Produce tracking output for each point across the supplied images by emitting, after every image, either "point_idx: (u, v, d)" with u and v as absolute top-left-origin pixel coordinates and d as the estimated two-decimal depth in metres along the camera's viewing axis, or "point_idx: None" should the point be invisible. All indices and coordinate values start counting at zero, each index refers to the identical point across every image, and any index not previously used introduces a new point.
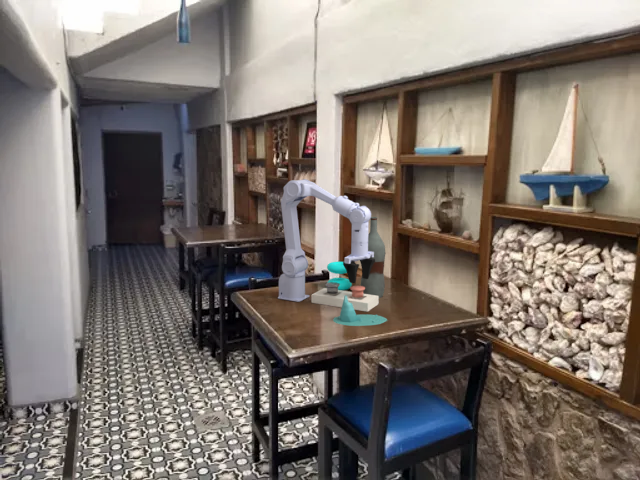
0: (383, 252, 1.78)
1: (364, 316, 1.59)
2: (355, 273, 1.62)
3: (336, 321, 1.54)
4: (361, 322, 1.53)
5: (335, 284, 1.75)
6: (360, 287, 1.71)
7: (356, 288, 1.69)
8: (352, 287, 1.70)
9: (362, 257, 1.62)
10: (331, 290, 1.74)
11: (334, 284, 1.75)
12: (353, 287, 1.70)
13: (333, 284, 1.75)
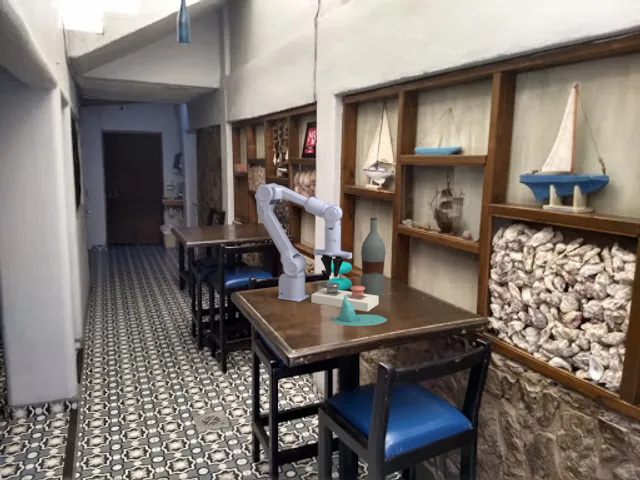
0: (383, 252, 1.78)
1: (364, 316, 1.59)
2: (325, 266, 1.74)
3: (336, 321, 1.54)
4: (361, 322, 1.53)
5: (335, 284, 1.75)
6: (360, 287, 1.71)
7: (356, 288, 1.69)
8: (352, 287, 1.70)
9: (324, 253, 1.72)
10: (331, 290, 1.74)
11: (334, 284, 1.75)
12: (353, 287, 1.70)
13: (333, 284, 1.75)
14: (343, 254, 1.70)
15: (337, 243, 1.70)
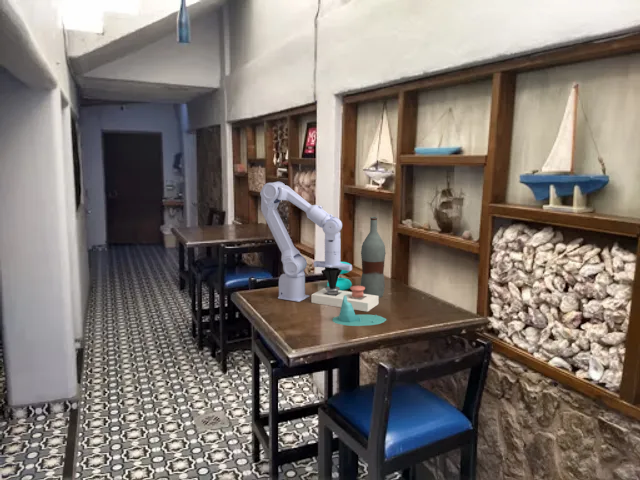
0: (383, 252, 1.78)
1: (363, 316, 1.59)
2: (328, 279, 1.74)
3: (335, 321, 1.54)
4: (360, 322, 1.53)
5: (335, 288, 1.75)
6: (360, 287, 1.71)
7: (356, 288, 1.69)
8: (352, 287, 1.70)
9: (324, 265, 1.73)
10: (331, 294, 1.74)
11: (334, 288, 1.75)
12: (353, 287, 1.70)
13: None
14: (343, 266, 1.70)
15: (337, 255, 1.71)
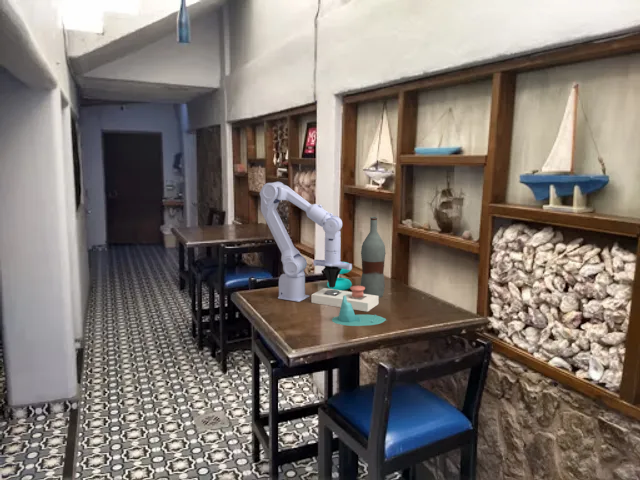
0: (383, 252, 1.78)
1: (363, 316, 1.59)
2: (328, 277, 1.74)
3: (335, 321, 1.54)
4: (360, 322, 1.53)
5: (335, 292, 1.75)
6: (360, 287, 1.71)
7: (356, 288, 1.69)
8: (352, 287, 1.70)
9: (324, 263, 1.72)
10: None
11: (334, 292, 1.75)
12: (353, 287, 1.70)
13: (333, 292, 1.75)
14: (343, 265, 1.70)
15: (337, 254, 1.71)
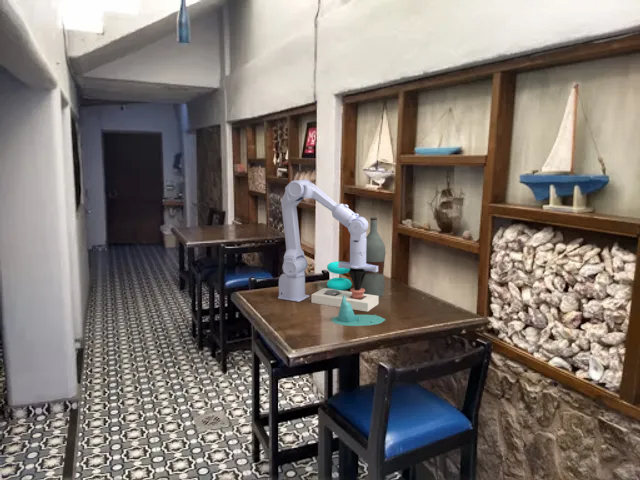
0: (383, 252, 1.78)
1: (362, 316, 1.59)
2: (353, 280, 1.69)
3: (334, 321, 1.54)
4: (359, 322, 1.53)
5: (335, 292, 1.75)
6: (360, 289, 1.71)
7: (356, 290, 1.69)
8: (352, 289, 1.71)
9: (350, 266, 1.68)
10: None
11: (334, 292, 1.75)
12: (353, 289, 1.71)
13: (333, 292, 1.75)
14: (369, 267, 1.66)
15: (363, 256, 1.66)
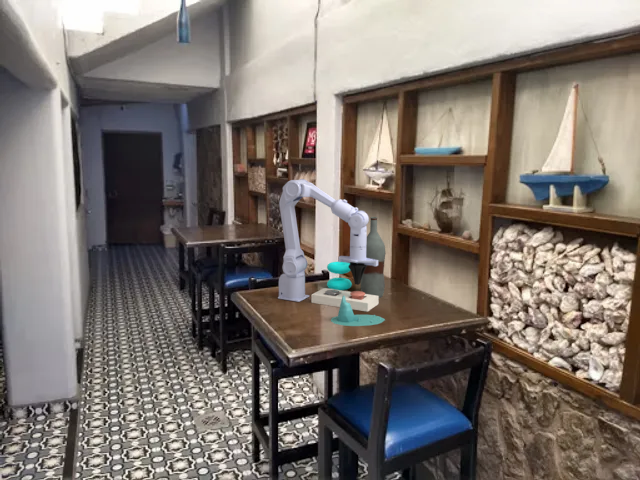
0: (383, 252, 1.78)
1: (362, 316, 1.59)
2: (353, 274, 1.69)
3: (334, 321, 1.54)
4: (359, 322, 1.53)
5: (335, 292, 1.75)
6: (360, 292, 1.71)
7: (356, 294, 1.70)
8: (352, 293, 1.71)
9: (350, 260, 1.67)
10: None
11: (334, 292, 1.75)
12: (353, 293, 1.71)
13: (333, 292, 1.75)
14: (369, 261, 1.65)
15: (363, 250, 1.66)
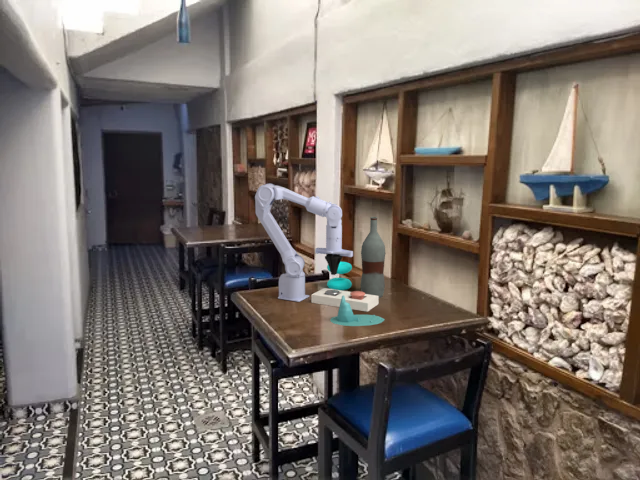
0: (383, 252, 1.78)
1: (362, 316, 1.59)
2: (329, 265, 1.76)
3: (333, 321, 1.54)
4: (358, 322, 1.53)
5: (335, 292, 1.75)
6: (360, 292, 1.71)
7: (356, 294, 1.70)
8: (352, 293, 1.71)
9: (326, 251, 1.75)
10: None
11: (334, 292, 1.75)
12: (353, 293, 1.71)
13: (333, 292, 1.75)
14: (344, 252, 1.73)
15: (339, 241, 1.74)
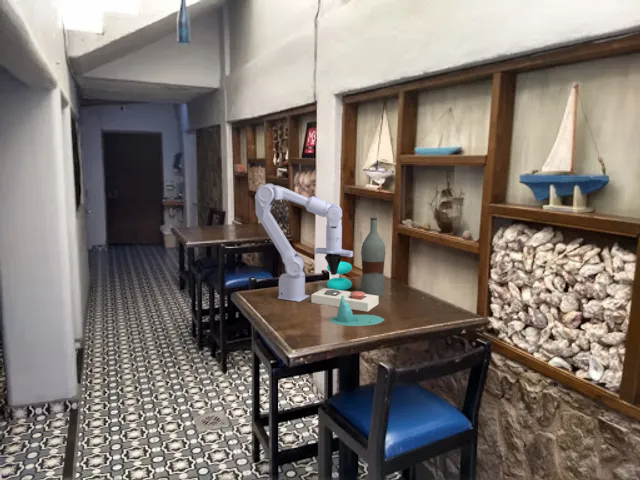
0: (383, 252, 1.78)
1: (361, 316, 1.59)
2: (329, 265, 1.76)
3: (333, 321, 1.54)
4: (358, 322, 1.53)
5: (335, 292, 1.75)
6: (360, 292, 1.71)
7: (356, 294, 1.70)
8: (352, 293, 1.71)
9: (326, 251, 1.75)
10: None
11: (334, 292, 1.75)
12: (353, 293, 1.71)
13: (333, 292, 1.75)
14: (344, 252, 1.73)
15: (339, 241, 1.74)
